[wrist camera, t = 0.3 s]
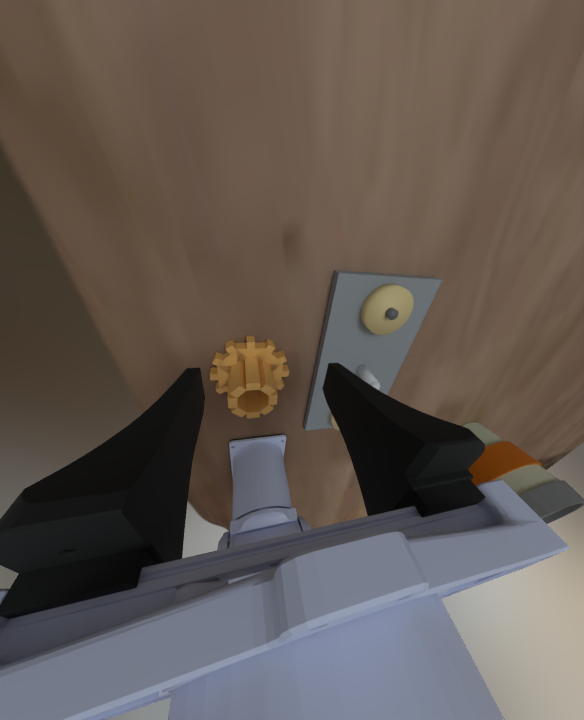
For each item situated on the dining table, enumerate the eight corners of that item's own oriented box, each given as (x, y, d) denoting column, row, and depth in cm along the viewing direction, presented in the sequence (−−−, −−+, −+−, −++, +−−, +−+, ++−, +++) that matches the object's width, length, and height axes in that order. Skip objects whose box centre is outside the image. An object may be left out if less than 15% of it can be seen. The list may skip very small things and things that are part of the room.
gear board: (370, 417, 33) (387, 443, 30) (303, 425, 31) (312, 454, 27) (434, 277, 21) (475, 291, 18) (334, 270, 19) (358, 284, 15)
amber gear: (283, 393, 26) (292, 426, 22) (215, 398, 24) (210, 434, 20) (290, 335, 22) (302, 363, 18) (206, 336, 20) (198, 367, 16)
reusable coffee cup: (456, 455, 49) (527, 533, 37) (420, 453, 45) (487, 542, 33) (501, 419, 43) (602, 498, 31) (465, 412, 39) (567, 503, 27)
